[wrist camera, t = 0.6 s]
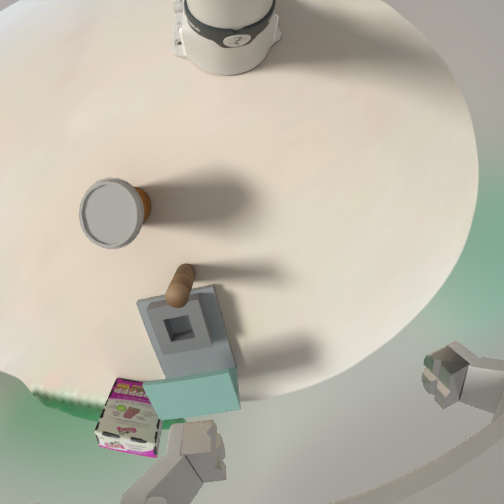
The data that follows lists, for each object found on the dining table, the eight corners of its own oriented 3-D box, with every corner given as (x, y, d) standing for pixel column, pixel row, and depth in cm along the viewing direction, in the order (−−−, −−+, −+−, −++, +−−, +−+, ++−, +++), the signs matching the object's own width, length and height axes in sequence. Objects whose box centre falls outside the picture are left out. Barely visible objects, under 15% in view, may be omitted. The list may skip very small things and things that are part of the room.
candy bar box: (118, 394, 55) (97, 447, 39) (116, 376, 54) (92, 430, 38) (168, 402, 56) (157, 459, 40) (167, 385, 55) (155, 443, 39)
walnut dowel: (174, 266, 49) (162, 288, 39) (192, 261, 49) (184, 283, 39) (179, 283, 50) (169, 310, 39) (197, 279, 50) (191, 305, 40)
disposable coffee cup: (116, 171, 45) (86, 169, 33) (168, 187, 46) (150, 189, 35) (101, 225, 46) (69, 238, 35) (151, 242, 48) (130, 261, 36)
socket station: (137, 300, 50) (117, 331, 39) (213, 284, 51) (210, 314, 39) (169, 379, 55) (160, 420, 43) (236, 368, 55) (240, 409, 44)
